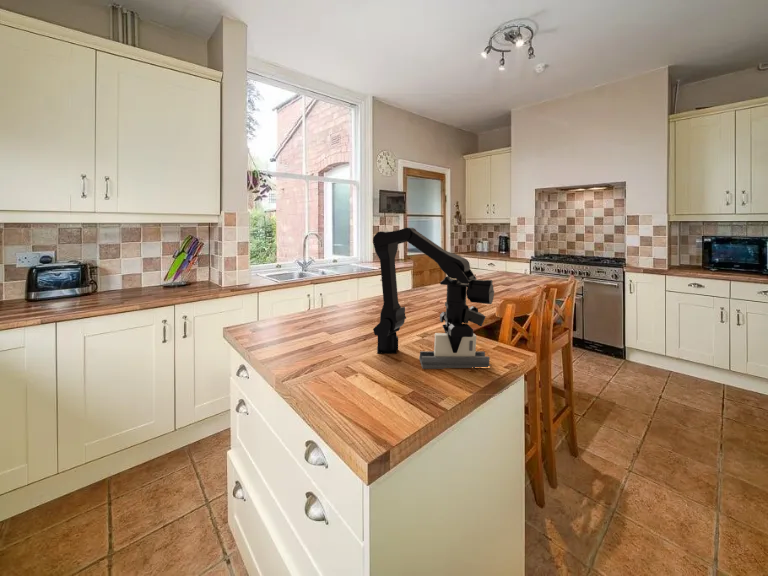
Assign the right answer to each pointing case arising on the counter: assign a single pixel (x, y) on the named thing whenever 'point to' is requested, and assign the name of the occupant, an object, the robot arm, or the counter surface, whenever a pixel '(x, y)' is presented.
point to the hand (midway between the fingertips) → (453, 351)
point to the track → (453, 360)
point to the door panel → (444, 348)
